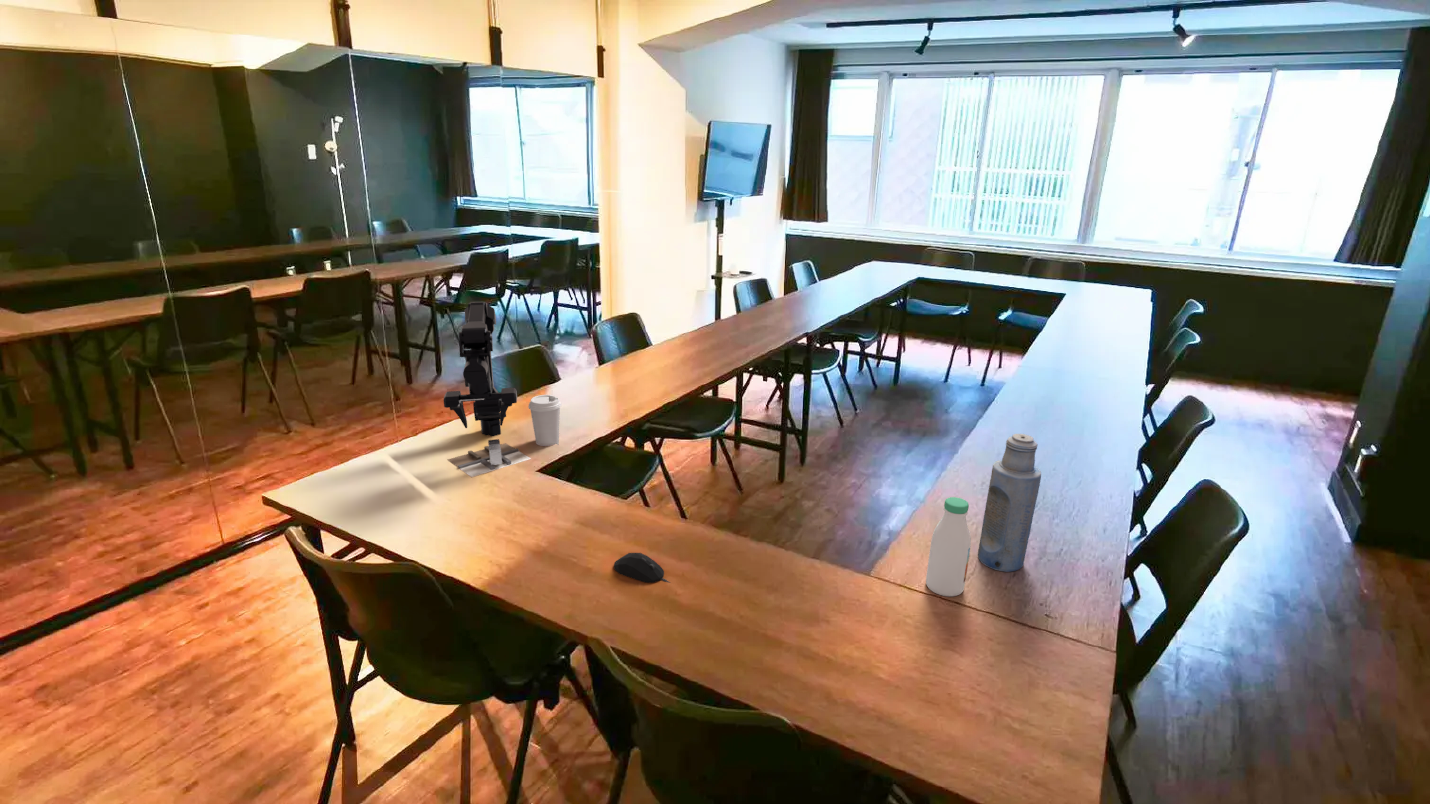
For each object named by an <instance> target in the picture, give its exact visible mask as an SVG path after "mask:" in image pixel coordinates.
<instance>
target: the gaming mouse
mask: <svg viewBox="0 0 1430 804" xmlns="http://www.w3.org/2000/svg"><path fill="white" fill-rule="evenodd" d="M613 569H614V571H615V572H617V573H618V574H619V575H622V576H624V577H628V578H630V579H633V580H636V581H639V582H643V583H644V584H645V583H649V584H654V583H657V582H660V581H662V582H664V583H665V582H666V583H670V584H671V582H670V580H667V579H666V578H664V576H665V570H664V569H663V568H662V567H661V565H659V563H657V562H656V561H655V560H654V559H652V557H651V558H650V557H649V556H648V555H647V554H644V553H642V552H628V553H626V554H625V555H623V556H622V557H620V558H618V559H617V560H616V561H615V562H614V563H613Z"/></svg>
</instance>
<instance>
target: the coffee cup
mask: <svg viewBox="0 0 1430 804" xmlns="http://www.w3.org/2000/svg"><path fill="white" fill-rule="evenodd" d="M561 407H562V402H561V400H560V399H559V397H558V396H556V395H553V394H541V395H536V396H533V397H532V398H531V399H530V401H529V404H528V409H529V410H530V413H531V420H532V426H533V432H534V433H533V434H534V438H535V443H536V445H538V446H540V447H541V446H543V447H548V446H549V447H550V446H554V445H557V446H560V445H559V443H560V419H561V418H560V414H561Z"/></svg>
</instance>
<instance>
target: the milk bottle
mask: <svg viewBox="0 0 1430 804" xmlns="http://www.w3.org/2000/svg"><path fill="white" fill-rule="evenodd" d="M969 505H970V504H969V502H968V501H967V500H966V499H964V498H961V497H956V496H949V497H948V498H945V500H944V505H943V507H944V508H943V511H944V513H943V515H942V517H941V519H940V520H939V522H938V523H937V525H936V526H935V527H934V530H933V533H932V536H931V541H930V547H929V555H928V562H927V568H926V569H927V570H926V577H925V585H926V586H927V587H928V589H929V590H930V591H931V592H932V593H935V594H937V595H940V596H943V597H950V598H952V597H956V596H959V595H961V594H962V593H963V592H964V589H965V584H966V579H967V574H968V573H967V572H968V567H969V559H970V552H971V544H972V541H971V540H972V537H971V531H970V528H969V527H968V526H969V525H968V523H967V515H968V511H969Z"/></svg>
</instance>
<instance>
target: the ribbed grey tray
mask: <svg viewBox="0 0 1430 804" xmlns="http://www.w3.org/2000/svg"><path fill="white" fill-rule="evenodd" d="M500 447H501V457H502V464H497V465H491V463H490V455H489V445H484V446H483V448H484V449H480V450H477V451H473V450H468V451H467V453H466V454H462V455H458V456H455V457H451V458H448V459H447V461H448V462H450V463H451V464H453V465H454V466H455V467H456V468H458V469H459V470H461V471H462V472H463V473H465V474H466V475H467V476H469V477H470V478H473V477H477V476H480V475H484V474H487V473H490V472H492V471H495V470H499V469H502V468H506V467H510V466H513V465H515V464H519V463H523V462H527V461H528V460H531V459H532V458H531V457H529V456H528V455H526V454H524V453H523V452H521V451H520V449H519V448H515V447H513V446H511V445H510V444H508V443H506V442H504V443H500Z"/></svg>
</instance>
